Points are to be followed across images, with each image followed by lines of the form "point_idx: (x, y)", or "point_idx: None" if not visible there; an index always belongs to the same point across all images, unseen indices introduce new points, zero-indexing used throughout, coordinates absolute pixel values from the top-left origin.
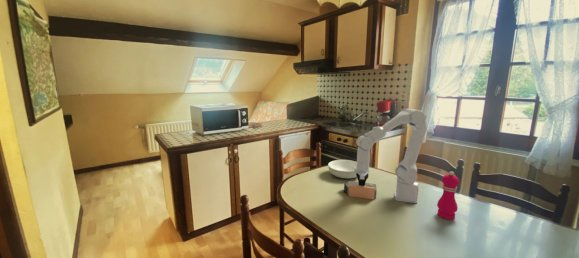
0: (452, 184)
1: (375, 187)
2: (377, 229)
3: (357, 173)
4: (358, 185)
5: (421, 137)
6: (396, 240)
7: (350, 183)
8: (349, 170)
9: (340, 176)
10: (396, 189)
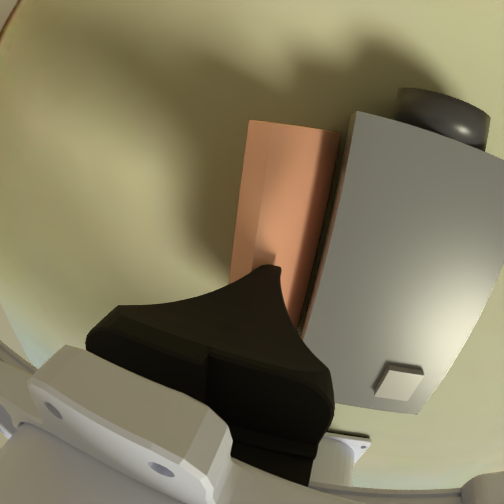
0: None
1: (352, 401)
2: (25, 248)
3: (187, 382)
4: (251, 263)
5: None
6: (13, 288)
7: (469, 182)
8: None
9: None
10: (317, 473)
